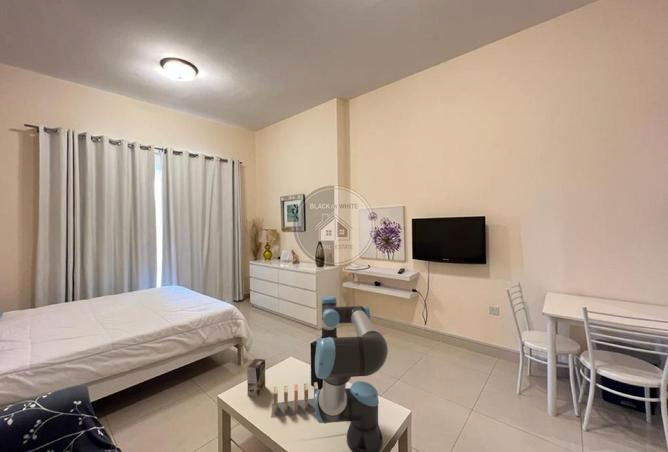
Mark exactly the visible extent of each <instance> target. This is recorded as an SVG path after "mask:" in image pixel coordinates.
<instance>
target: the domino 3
mask: <svg viewBox="0 0 668 452" xmlns="http://www.w3.org/2000/svg"><path fill="white" fill-rule="evenodd" d="M293 387H294V388H293V392H294V397H293V398H294V400H293V401H294V404H295V411H298V400H299V395H298V394H299V392H298V391H299V388H298V384H294V385H293Z"/></svg>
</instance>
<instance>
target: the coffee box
mask: <svg viewBox="0 0 668 452" xmlns="http://www.w3.org/2000/svg"><path fill="white" fill-rule="evenodd" d="M246 376H247V396H249V397H257V398H258V397H259V396H260V395H261V393H262V392H263V391H264V390H265V388H266V359H264V358H254V360H252V362H250V364H249V365H248V366H247V375H246Z"/></svg>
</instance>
